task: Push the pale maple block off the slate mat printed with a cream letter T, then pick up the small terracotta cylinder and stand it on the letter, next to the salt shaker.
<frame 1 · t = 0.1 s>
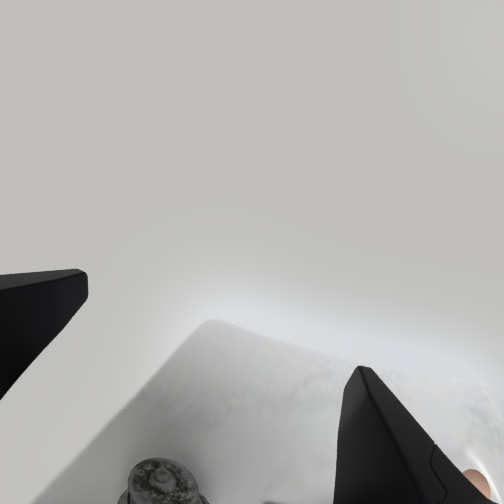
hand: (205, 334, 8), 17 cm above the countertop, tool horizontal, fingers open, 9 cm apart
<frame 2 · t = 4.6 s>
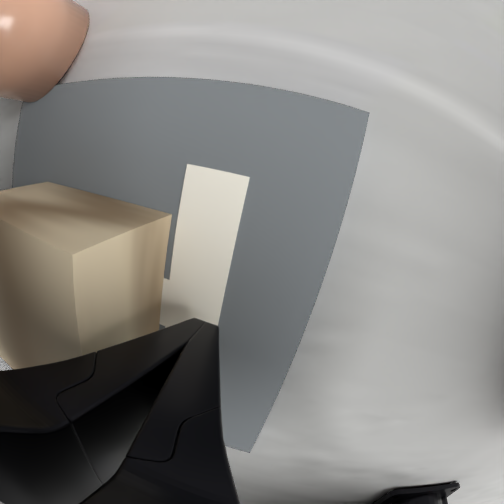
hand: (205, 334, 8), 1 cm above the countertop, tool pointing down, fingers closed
letter mat: (113, 275, 10), on the countertop
terracotta cylinder: (49, 51, 7), on the countertop, tilted 5°, touching letter mat
maple block: (93, 274, 9), resting on letter mat, touching gripper
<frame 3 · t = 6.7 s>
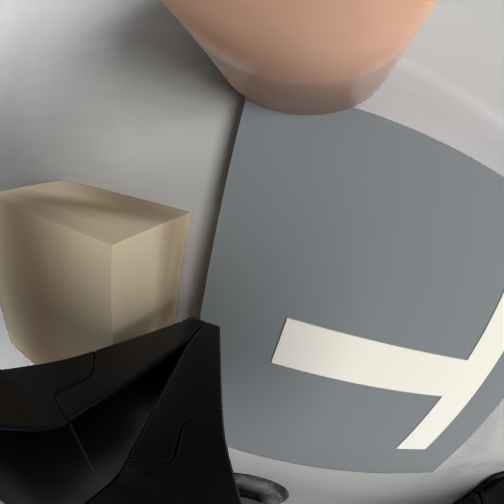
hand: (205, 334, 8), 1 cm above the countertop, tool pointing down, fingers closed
letter mat: (399, 363, 8), on the countertop
salt shaker: (247, 488, 13), on the countertop
terracotta cylinder: (303, 36, 6), on the countertop, tilted 5°, touching letter mat
maple block: (114, 268, 10), on the countertop
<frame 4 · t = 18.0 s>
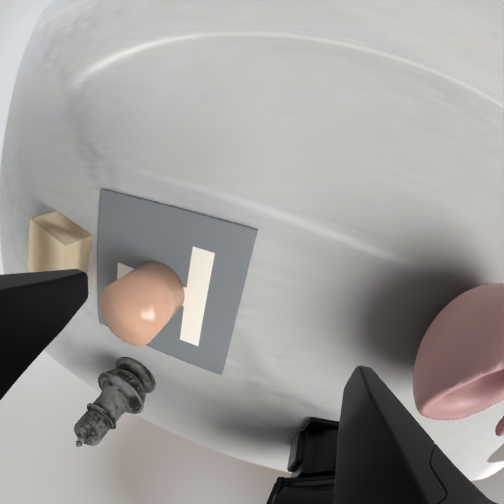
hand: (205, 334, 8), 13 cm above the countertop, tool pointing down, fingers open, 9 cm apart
letter mat: (160, 285, 23), on the countertop
mortar and pestle: (457, 325, 19), on the countertop
salt shaker: (136, 374, 28), on the countertop
terracotta cylinder: (158, 289, 23), resting on letter mat
maple block: (70, 247, 25), on the countertop
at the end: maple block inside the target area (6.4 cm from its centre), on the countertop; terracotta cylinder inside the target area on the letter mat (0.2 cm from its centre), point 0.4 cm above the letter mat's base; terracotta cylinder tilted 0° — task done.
